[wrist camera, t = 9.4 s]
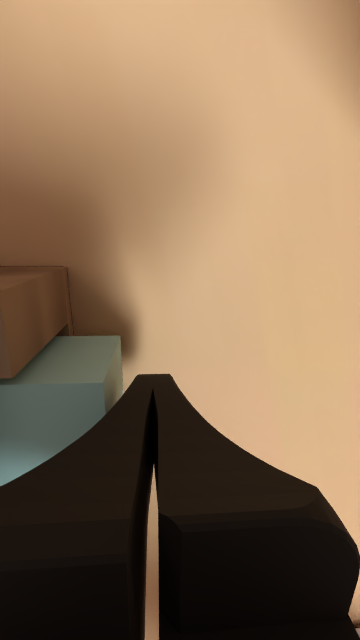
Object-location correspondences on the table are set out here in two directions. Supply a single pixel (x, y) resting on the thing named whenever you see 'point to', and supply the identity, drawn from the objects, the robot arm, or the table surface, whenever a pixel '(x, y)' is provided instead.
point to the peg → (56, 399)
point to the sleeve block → (31, 313)
